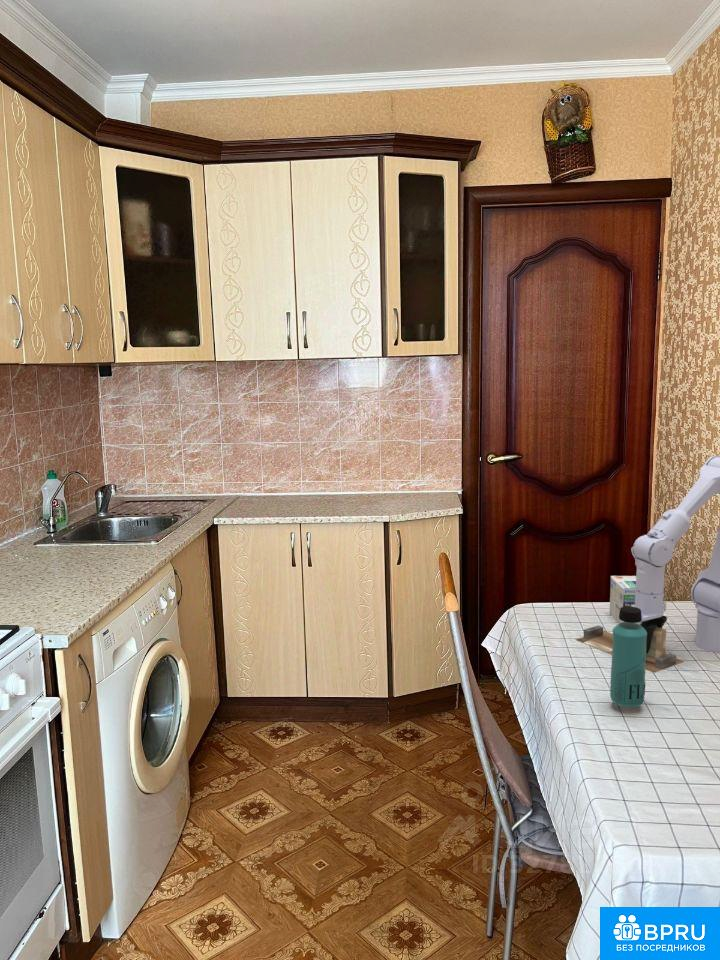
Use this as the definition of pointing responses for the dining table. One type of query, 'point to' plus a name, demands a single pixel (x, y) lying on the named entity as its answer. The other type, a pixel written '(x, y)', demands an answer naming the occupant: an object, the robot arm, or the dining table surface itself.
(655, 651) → the tall tan box
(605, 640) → the brown board with blocks
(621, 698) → the beverage bottle
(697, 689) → the dining table surface
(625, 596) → the light bulb box
